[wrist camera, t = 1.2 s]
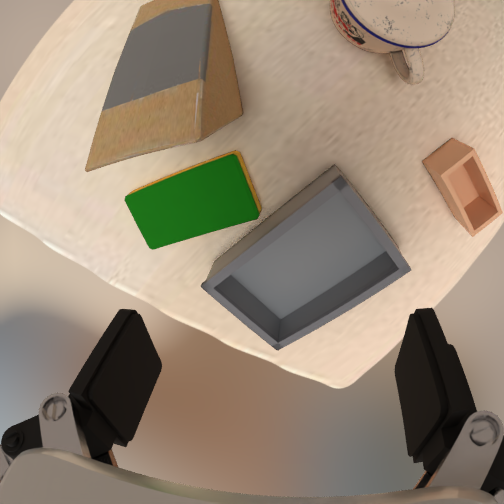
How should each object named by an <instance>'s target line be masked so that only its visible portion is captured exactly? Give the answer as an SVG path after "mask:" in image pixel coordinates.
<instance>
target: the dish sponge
mask: <svg viewBox="0 0 504 504" xmlns="http://www.w3.org/2000/svg"><path fill="white" fill-rule="evenodd" d="M125 202H126V204H127V206H128V208H129V210H130V212H131V214H132V216H133V218H134V220H135V222H136V224H137V226H138V228H139V229H140V231H141V233H142V235H143V237H144V239H145V241H146V243H147V245H148V246H149V248H150V249H157V248H160V247H163V246H166V245H170V244H173V243H176V242H180V241H183V240H186V239H190V238H193V237H196V236H200V235H203V234H206V233H210V232H213V231H217V230H220V229H224V228H227V227H231V226H234V225H238V224H241V223H245V222H248V221H252V220H255V219H258V217H259V214H260V211H261V205H260V203H259V200H258V198H257V195H256V192H255V190H254V187H253V185H252V182H251V179H250V177H249V174H248V172H247V169H246V167H245V164H244V162H243V159H242V156H241V154H240V152H238V151H236V150H235V151H232V152H230V153H227V154H224V155H221V156H218V157H216V158H213V159H210V160H207V161H205V162H202V163H199V164H197V165H194V166H192V167H189V168H187V169H184V170H181V171H179V172H176V173H174V174H171V175H169V176H167V177H164V178H162V179H159V180H157V181H154V182H152V183H150V184H147V185H145V186H143V187H140V188H138V189H136V190H134V191H132V192H131V193H129V194H128V195H127V196H126V197H125Z"/></svg>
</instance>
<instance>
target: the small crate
mask: <svg viewBox="0 0 504 504" xmlns="http://www.w3.org/2000/svg"><path fill="white" fill-rule="evenodd" d="M422 162H423V164H424V165H425V167H426V168H427V170H428V172H429V173H430V175H431V177H432V178H433V180H434V182H435V183H436V185H437V187H438V188H439V190H440V192H441V194H442V195H443V197H444V199H445V201H446V203H447V204H448V206H449V208H450V210H451V212H452V214H453V216H454V217H455V218H456V219H457V220H458V221H459V222H460V224H461V225H462V226H463V227H464V228H465V229H466V230H467V231H468V232H469V234H470V235H471V236H472V237H473V236H475V235H476V234H477V233H478V232H480V231H481V230H482V229H483V228H485V227H486V226H487V225H488V224H490V223H491V222H492V221H493V220H495V219H496V218H497V217H498V216H499V215H501V214H502V210H501V207H500V205H499V202H498V200H497V197H496V195H495V192H494V190H493V188H492V185H491V183H490V181H489V179H488V176H487V174H486V172H485V170H484V168H483V166H482V164H481V161H480V159H479V157H478V155H477V153H476V151H475V149H474V148H472V147H470V146H468V145H466V144H464V143H461V142H459V141H457V140H455V139H453V138H451V139H450V140H449V141H447V142H446V143H445V144H443V145H442V146H441V147H440V148H438V149H437V150H436V151H435V152H433V153H432V154H431V155H429V156H428V157H427V158H426V159H424V160H423V161H422Z"/></svg>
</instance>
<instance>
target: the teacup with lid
mask: <svg viewBox="0 0 504 504" xmlns="http://www.w3.org/2000/svg"><path fill="white" fill-rule="evenodd" d="M330 12H331V17H332V20H333V22H334V24H335V26H336V27H337V29H338V30H339V32H340V33H341V34H342V35H343V36H344V37H345V38H346V39H347V40H348V41H350V42H351V43H352V44H354V45H355V46H357V47H359V48H361V49H364V50H366V51H370V52H374V53H390V56H391V59H392V62H393V65H394V67H395V69H396V71H397V73H398V74H399V76H400V77H401V78H402V80H403V81H405V82H406V83H408V84H411V85H413V84H419V83H420V82H421V81H422V80H423V76H424V67H423V61H422V57H421V54H420V51H419V48H423V47H427V46H430V45H433V44H435V43H437V42H438V41H440V40H441V39H442V38H443V37H444V36H445V35H446V34H447V33H448V31H449V30H450V28H451V25H452V23H453V20H454V13H455V6H454V0H330ZM402 49H404V51H405V54H406V57H407V61H408V65H409V67H408V65H407V63H406V61H405V58H404V55H403V52H402Z"/></svg>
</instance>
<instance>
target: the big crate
mask: <svg viewBox="0 0 504 504" xmlns="http://www.w3.org/2000/svg"><path fill="white" fill-rule="evenodd" d="M409 271H411V268H410V266H409V265H408V263H407V262H406V260H405V259H404V257H403V256H402V254H401V252H400V250H399V248H398V246H397V244H396V243H395V242H394V240H393V239H392V237H391V236H390V235H389V233H388V232H387V230H386V229H385V228H384V226H383V225H382V224H381V222H380V221H379V220H378V218H377V217H376V216H375V214H374V213H373V212H372V210H371V209H370V208H369V206H368V205H367V204H366V202H365V201H364V200H363V199H362V197H361V196H360V195H359V193H358V192H357V191H356V190H355V188H354V187H353V186H352V185H351V183H350V182H349V181H348V180H347V178H346V177H345V176H344V175H343V174H342V172H341V171H340V170H339V169H338V168H337V166H336V165H335V164H334V165H333V166H332V167H331V168H329V169H328V170H327V171H325V172H324V173H323V174H322V175H320V176H319V177H318V178H317V179H315V180H314V181H313V182H312V183H310V184H309V185H308V186H307V187H305V188H304V189H303V190H302V191H300V192H299V193H298V194H297V195H295V196H294V197H293V198H292V199H290V200H289V201H288V202H287V203H286V204H284V205H283V206H282V207H281V208H279V209H278V210H277V211H276V212H274V213H273V214H272V215H271V216H269V217H268V218H267V219H266V220H264V221H263V222H262V223H261V224H260V225H258V226H257V227H256V228H255V229H253V230H252V231H251V232H250V233H249V234H247V235H246V236H245V237H244V238H242V239H241V240H240V241H239V242H237V243H236V244H235V245H234V246H233V247H231V248H230V249H229V250H228V251H227V252H225V253H224V254H223V255H222V256H220V257H219V258H218V259H217V260H216V261H214V263H213V265H212V268H211V270H210V272H209V274H208V277H207V279H206V281H204V282H203V283H202V284H201V287H202V288H203V289H204V290H205V291H206V292H207V293H208V294H210V295H211V296H212V297H213V298H214V299H215V300H217V301H218V302H219V303H220V304H221V305H222V306H224V307H225V308H226V309H227V310H228V311H230V312H231V313H232V314H233V315H234V316H235V317H237V318H238V319H239V320H240V321H241V322H243V323H244V324H245V325H246V326H247V327H249V328H250V329H251V330H252V331H254V332H255V333H256V334H257V335H258V336H260V337H261V338H262V339H263V340H265V341H266V342H267V343H268V344H270V345H271V346H272V347H273V348H275V349H276V350H279V349H281V348H283V347H285V346H287V345H289V344H291V343H292V342H294V341H296V340H298V339H300V338H302V337H303V336H305V335H307V334H309V333H311V332H312V331H314V330H316V329H318V328H319V327H321V326H323V325H325V324H326V323H328V322H330V321H332V320H333V319H335V318H337V317H338V316H340V315H342V314H343V313H345V312H347V311H348V310H350V309H352V308H353V307H355V306H357V305H358V304H360V303H362V302H363V301H365V300H366V299H368V298H370V297H371V296H373V295H374V294H376V293H378V292H379V291H381V290H382V289H384V288H385V287H387V286H388V285H390V284H391V283H393V282H394V281H396V280H398V279H399V278H401V277H402V276H404V275H405V274H406V273H408V272H409Z"/></svg>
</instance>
